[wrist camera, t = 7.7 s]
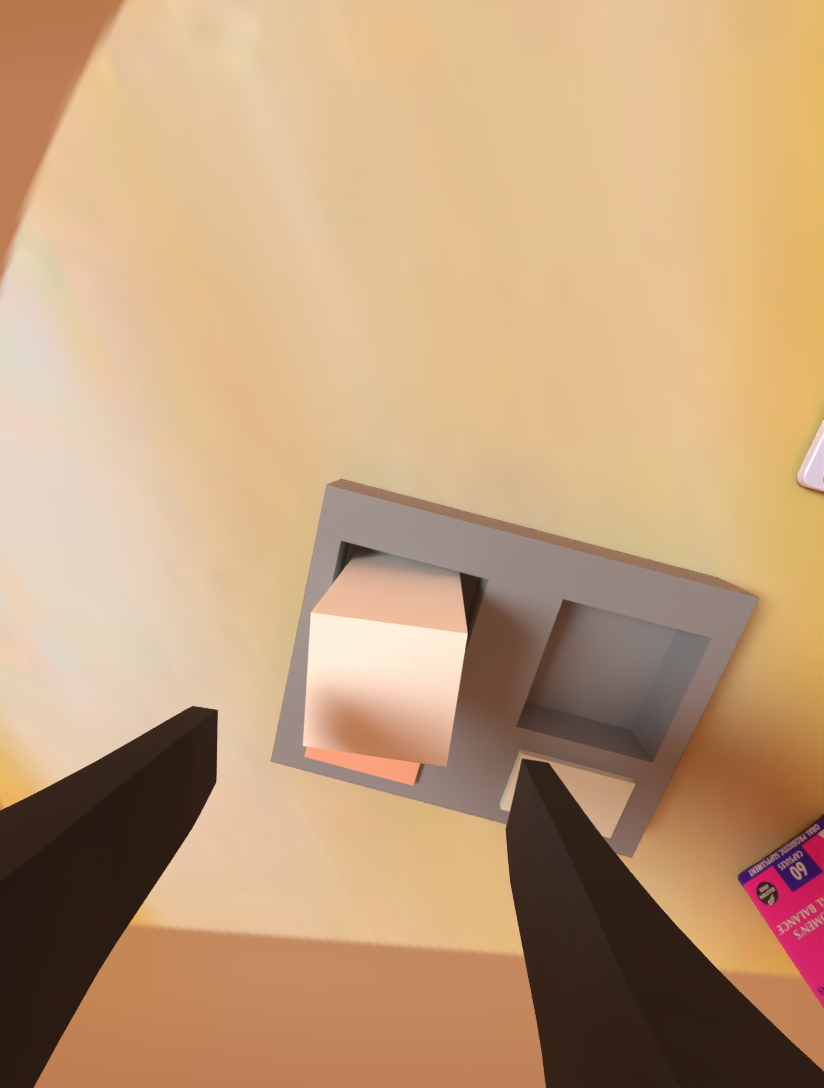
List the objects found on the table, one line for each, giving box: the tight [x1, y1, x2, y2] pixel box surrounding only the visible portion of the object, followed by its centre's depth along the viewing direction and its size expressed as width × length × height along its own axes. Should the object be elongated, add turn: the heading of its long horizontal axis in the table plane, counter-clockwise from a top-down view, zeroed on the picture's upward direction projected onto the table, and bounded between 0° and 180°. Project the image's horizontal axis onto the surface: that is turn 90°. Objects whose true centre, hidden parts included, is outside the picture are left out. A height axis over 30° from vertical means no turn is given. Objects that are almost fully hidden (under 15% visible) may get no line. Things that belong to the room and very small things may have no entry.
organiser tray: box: [271, 479, 759, 858], centre depth 19 cm, size 17×13×3 cm
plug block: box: [303, 551, 468, 767], centre depth 16 cm, size 4×4×7 cm
